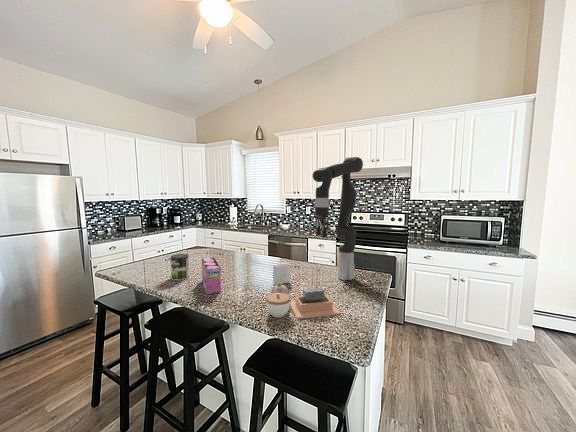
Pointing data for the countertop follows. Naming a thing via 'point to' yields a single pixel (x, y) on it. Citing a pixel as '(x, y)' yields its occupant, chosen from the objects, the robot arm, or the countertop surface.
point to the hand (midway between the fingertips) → (321, 236)
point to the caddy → (313, 308)
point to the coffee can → (179, 267)
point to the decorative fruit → (280, 289)
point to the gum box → (211, 275)
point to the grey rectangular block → (313, 295)
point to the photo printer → (281, 273)
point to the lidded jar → (278, 304)
